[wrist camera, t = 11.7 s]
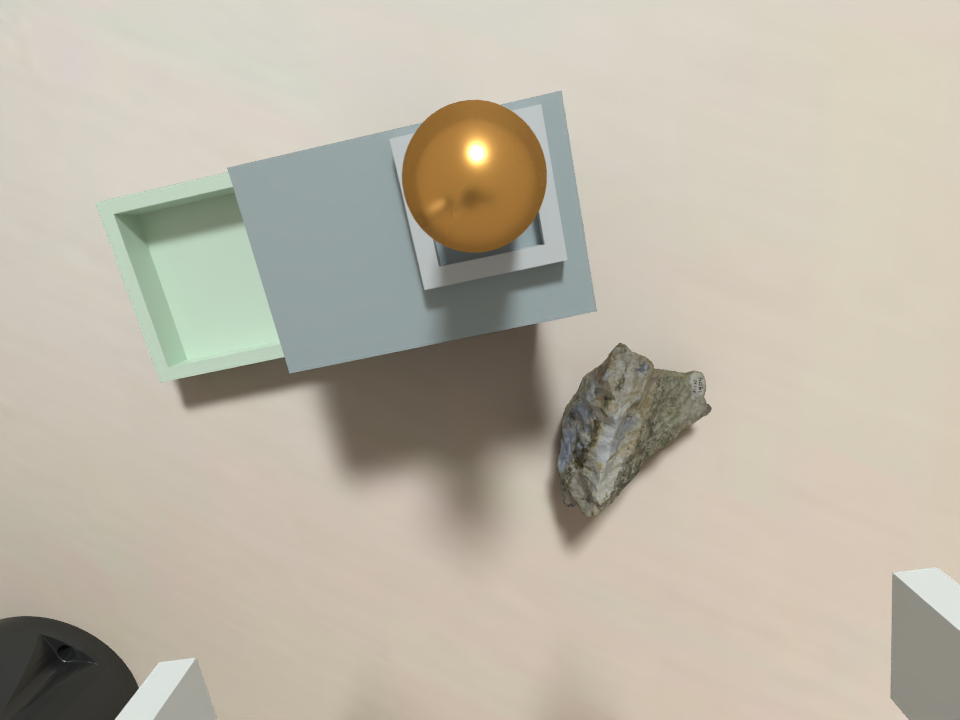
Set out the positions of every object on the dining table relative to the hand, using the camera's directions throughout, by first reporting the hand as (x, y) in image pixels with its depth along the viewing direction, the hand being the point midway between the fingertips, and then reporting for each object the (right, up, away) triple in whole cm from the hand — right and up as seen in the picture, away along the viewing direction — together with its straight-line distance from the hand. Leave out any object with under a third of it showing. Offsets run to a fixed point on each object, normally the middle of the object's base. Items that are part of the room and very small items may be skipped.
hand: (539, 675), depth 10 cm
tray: (-16, +11, +23) cm, 31 cm away
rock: (+3, +3, +19) cm, 20 cm away
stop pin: (-1, +13, +12) cm, 18 cm away
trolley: (-4, +14, +23) cm, 27 cm away
